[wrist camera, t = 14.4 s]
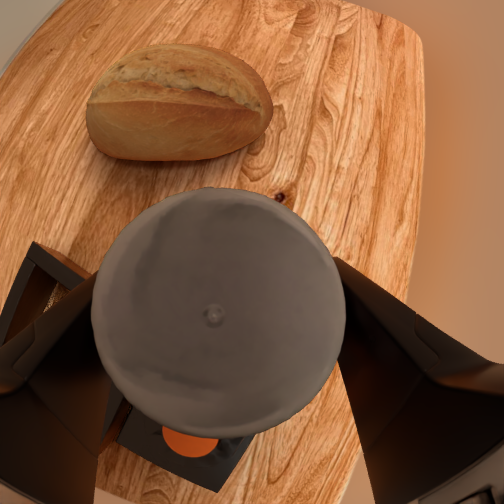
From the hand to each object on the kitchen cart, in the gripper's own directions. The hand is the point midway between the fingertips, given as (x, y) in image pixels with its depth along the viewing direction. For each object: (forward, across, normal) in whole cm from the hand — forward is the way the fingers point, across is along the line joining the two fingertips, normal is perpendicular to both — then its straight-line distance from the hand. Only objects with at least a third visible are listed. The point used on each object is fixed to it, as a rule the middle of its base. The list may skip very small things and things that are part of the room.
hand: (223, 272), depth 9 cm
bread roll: (+19, +4, 0) cm, 19 cm away
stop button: (+1, +2, +12) cm, 13 cm away
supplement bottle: (+4, 0, +6) cm, 7 cm away
